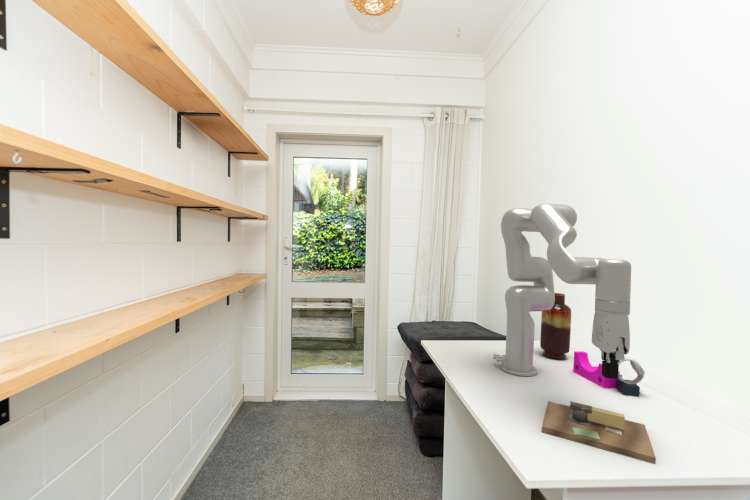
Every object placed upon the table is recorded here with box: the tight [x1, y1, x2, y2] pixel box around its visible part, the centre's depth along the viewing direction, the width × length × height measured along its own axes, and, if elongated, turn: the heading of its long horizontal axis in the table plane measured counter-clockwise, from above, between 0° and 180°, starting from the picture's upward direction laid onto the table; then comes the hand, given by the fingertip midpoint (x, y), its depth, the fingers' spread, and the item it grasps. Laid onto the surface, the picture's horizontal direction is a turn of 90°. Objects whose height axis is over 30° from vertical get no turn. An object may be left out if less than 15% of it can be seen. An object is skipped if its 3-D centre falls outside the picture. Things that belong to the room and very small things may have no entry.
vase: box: [539, 292, 572, 360], centre depth 146 cm, size 11×11×26 cm
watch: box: [615, 356, 646, 398], centre depth 111 cm, size 6×8×11 cm
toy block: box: [572, 350, 623, 389], centre depth 122 cm, size 15×6×8 cm, turn 6°
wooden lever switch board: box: [541, 400, 657, 464], centre depth 86 cm, size 22×16×2 cm
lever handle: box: [569, 400, 626, 430], centre depth 87 cm, size 12×4×4 cm, turn 59°
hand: (609, 377), depth 90 cm, fingers closed
